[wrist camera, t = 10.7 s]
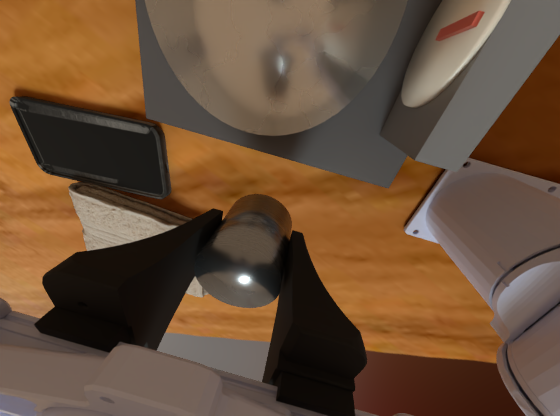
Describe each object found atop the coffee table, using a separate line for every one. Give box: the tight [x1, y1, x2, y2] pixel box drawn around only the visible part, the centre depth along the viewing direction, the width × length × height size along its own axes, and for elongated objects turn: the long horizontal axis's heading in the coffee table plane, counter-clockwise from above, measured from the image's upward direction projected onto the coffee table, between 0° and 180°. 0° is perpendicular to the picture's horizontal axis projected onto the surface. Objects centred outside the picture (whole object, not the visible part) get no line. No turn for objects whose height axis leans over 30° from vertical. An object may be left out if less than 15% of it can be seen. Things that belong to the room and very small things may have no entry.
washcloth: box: [68, 182, 209, 297], centre depth 26 cm, size 12×18×3 cm, turn 73°
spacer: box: [194, 194, 292, 308], centre depth 12 cm, size 4×4×5 cm
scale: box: [135, 0, 560, 188], centre depth 10 cm, size 20×17×8 cm
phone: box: [10, 97, 171, 199], centre depth 21 cm, size 8×1×15 cm
